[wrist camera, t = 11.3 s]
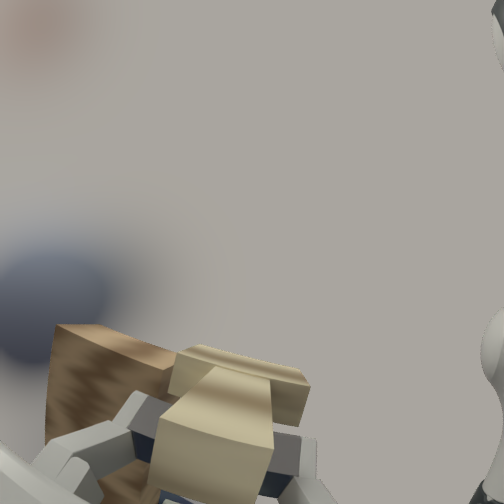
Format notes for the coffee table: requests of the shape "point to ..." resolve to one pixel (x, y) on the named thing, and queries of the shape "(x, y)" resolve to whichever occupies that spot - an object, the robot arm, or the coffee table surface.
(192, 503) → the coffee table surface
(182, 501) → the coffee table surface
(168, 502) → the bin
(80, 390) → the stand
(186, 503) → the coffee table surface
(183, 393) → the t-shaped wooden piece
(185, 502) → the coffee table surface
